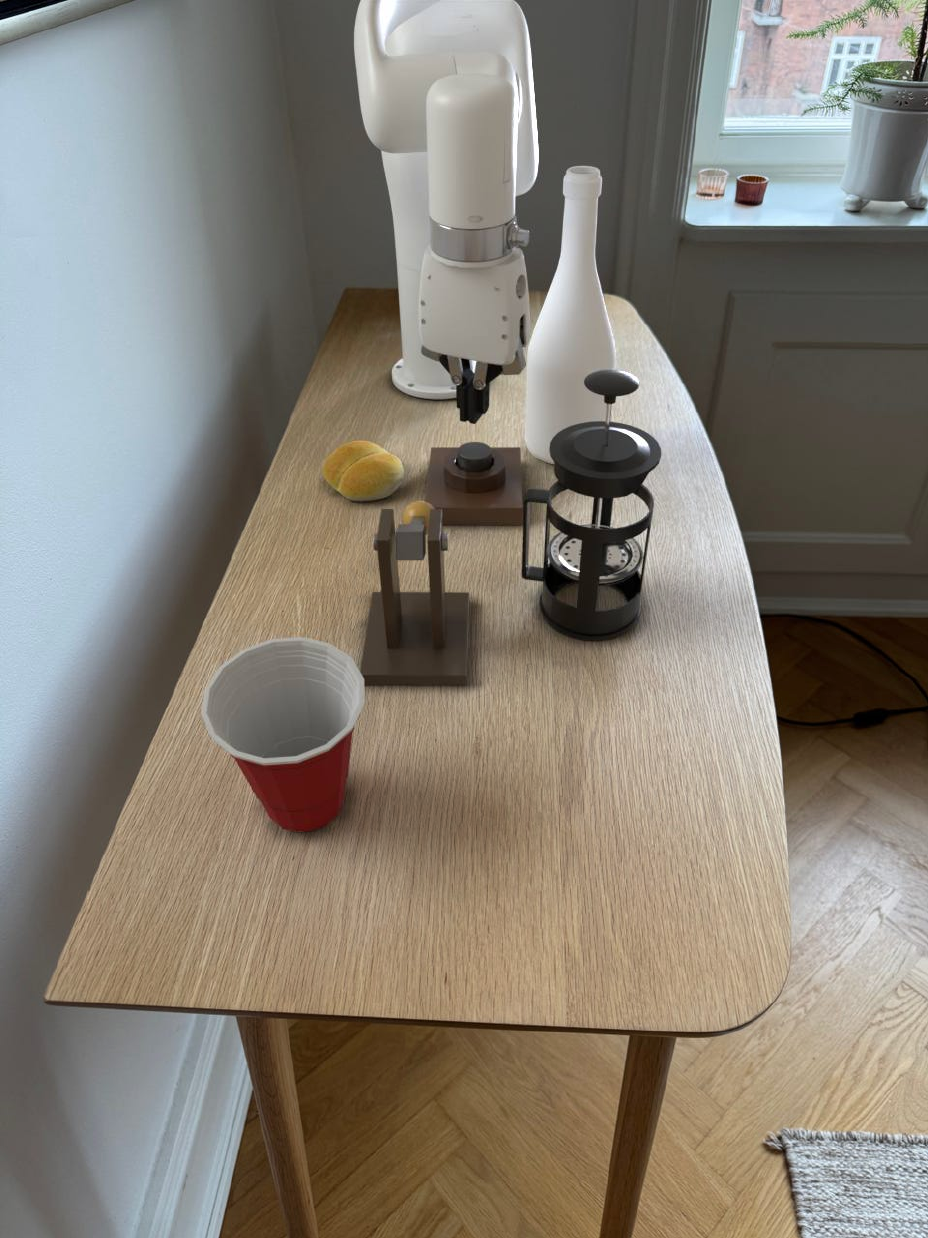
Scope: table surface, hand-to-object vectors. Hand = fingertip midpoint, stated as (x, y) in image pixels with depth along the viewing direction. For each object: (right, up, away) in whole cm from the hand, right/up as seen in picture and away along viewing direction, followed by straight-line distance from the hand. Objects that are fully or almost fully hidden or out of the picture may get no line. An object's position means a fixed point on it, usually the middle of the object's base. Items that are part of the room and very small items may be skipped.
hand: (472, 415), depth 94 cm
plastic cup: (-13, -35, -26) cm, 45 cm away
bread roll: (-12, -6, +7) cm, 15 cm away
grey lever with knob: (-5, -15, -14) cm, 21 cm away
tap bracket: (-5, -23, -12) cm, 27 cm away
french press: (+10, -20, -9) cm, 24 cm away
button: (0, -5, +3) cm, 5 cm away
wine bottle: (+11, -1, +12) cm, 16 cm away
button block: (0, -7, +5) cm, 9 cm away
